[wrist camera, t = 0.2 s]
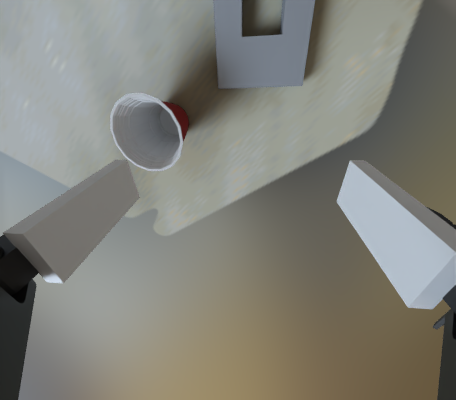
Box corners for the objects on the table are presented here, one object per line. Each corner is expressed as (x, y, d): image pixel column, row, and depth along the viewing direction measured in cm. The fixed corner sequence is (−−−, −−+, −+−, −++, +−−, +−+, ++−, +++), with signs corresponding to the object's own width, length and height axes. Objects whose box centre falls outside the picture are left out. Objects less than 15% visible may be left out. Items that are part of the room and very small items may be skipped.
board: (212, -83, 24) (207, -102, 21) (323, -97, 22) (332, -119, 20) (220, 87, 33) (218, 88, 31) (298, 84, 32) (302, 85, 30)
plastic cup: (155, 73, 33) (114, 73, 23) (210, 108, 35) (195, 122, 25) (138, 129, 39) (100, 149, 29) (187, 156, 41) (167, 183, 31)
